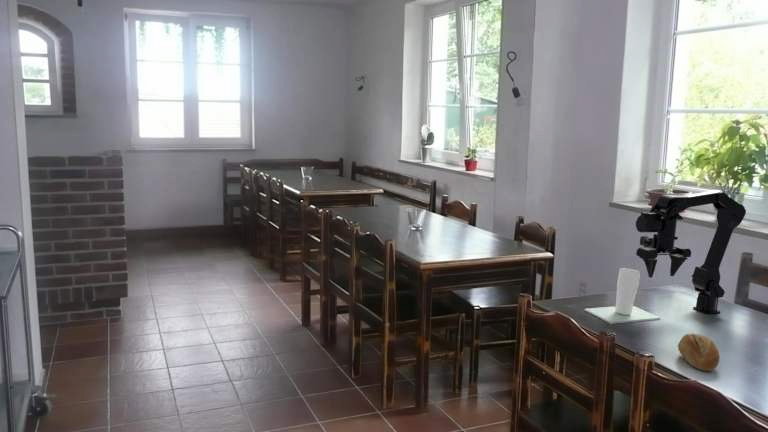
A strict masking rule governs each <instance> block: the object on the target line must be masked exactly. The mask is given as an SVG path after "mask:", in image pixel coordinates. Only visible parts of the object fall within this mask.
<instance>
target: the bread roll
mask: <svg viewBox="0 0 768 432" xmlns="http://www.w3.org/2000/svg"><path fill="white" fill-rule="evenodd" d="M677 350H678V351H679V353H680V355H681V356H682V358H683V359H685V360H686V361H687V362H688V363H689V364H690V365H691V366H693V367H694V368H696V369H698V370H700V371H705V372H712V371H714V370H715V369H716V368H717V367H718V366H719V363H720V353H719V349H718V348H717V345H716V344H715V343H714V341H713V340H712V339H711V338H710V337H707V336H705V335H702V334H695V333H689V334H685V335H683V336H682V337H681V338H680V340H679V342H678V344H677Z"/></svg>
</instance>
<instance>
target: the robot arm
mask: <svg viewBox="0 0 768 432" xmlns="http://www.w3.org/2000/svg"><path fill="white" fill-rule="evenodd" d="M711 204H712V206H713V208H714V209H715V210H716V211H717V213H716V221H717V227H716V230H715V233H714V235H713V238H712V241H711V244H710V246H709V248H708V251H707V254H706V257H705V259H704V262H703V263H702V265H701V266H695V268H694V271H693V272H692V273H693V274H692V275H691V278H692V279H691V283H692V284H693V287H694V291H695V292H698V294H697V297H696V303H695V306H693V307H692V309H694V310H696V311H698V312H700V313H703V314H706V315H709V314H710V315H711V314H720V313H721V310H718V305H719V299H720V298H723V297H724V295H725V294H726V291H725V290H724V288H723V287H722V286H721V285H720V281H721V273H720V267H721V263H722V261H723V258H724V256H725V254H726V250H727V248H728V246H729V242H730V239H731V237H732V234H733V231H734V230H735V229H736V228H737V227H738V226H740V225H741V224H742V222H743V220H744V218H745V217H746V216H745V215H746V213H747V210H746V208H745V206H744V205H743V204H741V203H739V202H738V201H736V200H735V199H733V198H732V197H729V195H727V194H726V192H724V191H722V190H716V189H711V190H709V191H708V190H707V191H702V192H698V193H697V192H696V193H691V194H684V195H680V194H679V195H677V194H662V195H661V196H659V198H658V199H657V202H656V203H655V204H654V205H653V207H652V208H651V209H650V210H649V212H645V211H641V212H640V215H639V216H637V219H636V220H635V228H636V230H637V232H639V233H653V237H650V238H649V236H648V235H643V236H640V237H639V238H640V239H639V245H640V246H641V247H638V248H637V249H636V253H635V255H636V256H637V257H638V258H639V259H641V260H642V261H643V262H644V265H645V267H646V271H647V276H648V278H650V279H653V276H654V273H655V269H656V266H657V263H658V259H657V257H658V256H669V258H670V267H669V268H670V269H669V270H670V271H669V276H670V277H674V276H675V274H676V273H677V272H678V271H679V269H680V267H681V266H682V265H683V264H684V262H686V260H688V258H691V256H692V250H691V249H690V248H689V247H685V246H682V245H675V241H678V239H679V238H678V236H676V233H677V232H676V230H677V224H678V220H679V221H681V220H684V217H683V216H682V215H681V214H680V213H681V212H682V213H683V212H684V211H686V209H688V208H693V207H699V206H705V205H711Z"/></svg>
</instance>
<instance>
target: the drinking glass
mask: <svg viewBox="0 0 768 432" xmlns="http://www.w3.org/2000/svg"><path fill="white" fill-rule="evenodd" d="M640 277H641V272H640V270H638V269H633V268H628V267H620V268H619V269H618V276H617V284H616V295H615V296H616V298H615V299H616V300H615V306H616V307H615V311H616V312H617V313H619V314H623V315H630V314H631V313H632V308H633V306H634V303H635V299H636V296H637V292H638V287H639V283H640Z"/></svg>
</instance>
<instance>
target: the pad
mask: <svg viewBox="0 0 768 432" xmlns="http://www.w3.org/2000/svg"><path fill="white" fill-rule="evenodd" d="M615 307H616V305H615V306H614V305H613V306H603V307H591V308H590V307H589V308H584V310H583V311H585V312H587V314H588V313H589V314H591V315H593V316H595V317H596V318H598V319H600V320H603V321H604V322H606V323H608V324H610V325H613V324H614V325H615V324H623V323H624V324H625V323H636V322H646V321H657V320H659V321H660V320H661V317H660V316H658V315H655V314H653V313H651V312H650V311H649V312H648V311H646V310H643V309H642V308H639V307H637V306H635V305H633V308H632V313H631V314H630V315H623V314H619V313H617V312H616V311H615Z"/></svg>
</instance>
